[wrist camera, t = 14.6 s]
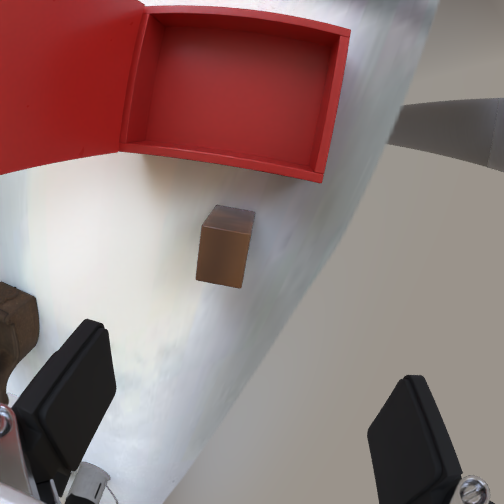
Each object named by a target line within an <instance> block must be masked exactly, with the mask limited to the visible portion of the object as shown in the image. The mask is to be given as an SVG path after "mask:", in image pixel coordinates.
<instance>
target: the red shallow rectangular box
mask: <svg viewBox="0 0 504 504" xmlns="http://www.w3.org/2000/svg"><path fill="white" fill-rule="evenodd" d="M350 33H351V30H350V29H346V28H343V27H339V26H335V25H331V24H327V23H323V22H319V21H314V20H310V19H305V18H300V17H295V16H289V15H284V14H278V13H271V12H264V11H257V10H249V9H239V8H228V7H213V6H144V9H143V13H142V17H141V21H140V25H139V29H138V33H137V37H136V42H135V46H134V51H133V56H132V61H131V66H130V71H129V77H128V82H127V88H126V94H125V101H124V107H123V115H122V122H121V130H120V139H119V148H118V151H119V152H129V153H138V154H148V155H156V156H164V157H172V158H180V159H187V160H194V161H201V162H208V163H215V164H221V165H227V166H233V167H239V168H245V169H251V170H256V171H262V172H267V173H273V174H278V175H283V176H288V177H293V178H298V179H303V180H307V181H312V182H317V183H322V180H323V176H324V175H323V174H324V171H325V167H326V162H327V157H328V153H329V148H330V143H331V138H332V133H333V128H334V123H335V118H336V113H337V108H338V103H339V97H340V92H341V87H342V81H343V75H344V70H345V64H346V58H347V52H348V46H349V39H350Z"/></svg>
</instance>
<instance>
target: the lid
mask: <svg viewBox="0 0 504 504" xmlns="http://www.w3.org/2000/svg"><path fill="white" fill-rule="evenodd" d="M144 5H145V4H143V3H141V2H140V1H138V0H0V175H3V174H7V173H11V172H15V171H19V170H23V169H28V168H32V167H37V166H42V165H46V164H51V163H56V162H62V161H67V160H72V159H78V158H84V157H90V156H96V155H103V154H110V153H117V152H118V148H119V139H120V130H121V122H122V115H123V107H124V101H125V94H126V88H127V82H128V77H129V71H130V66H131V61H132V56H133V51H134V46H135V42H136V37H137V33H138V29H139V25H140V21H141V17H142V13H143V9H144Z"/></svg>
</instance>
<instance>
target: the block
mask: <svg viewBox="0 0 504 504" xmlns="http://www.w3.org/2000/svg"><path fill="white" fill-rule="evenodd" d="M254 217H255V212H253V211H248V210H242V209H237V208H231V207H225V206H220V205H216V206H215V207H214V209H213V210H212V212H211V213H210V215H209V216H208V218H207V219H206V220H205V222H204V223H203V225H202V228H201V236H200V244H199V253H198V261H197V270H196V280H198V281H203V282H208V283H213V284H219V285H224V286H229V287H235V288H241V287H242V282H243V277H244V271H245V266H246V260H247V255H248V250H249V244H250V239H251V233H252V228H253V222H254Z"/></svg>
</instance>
